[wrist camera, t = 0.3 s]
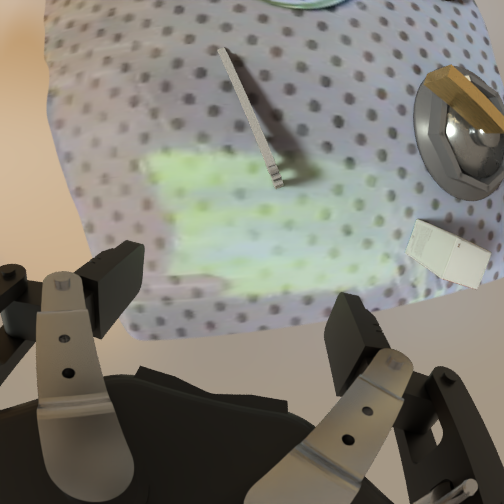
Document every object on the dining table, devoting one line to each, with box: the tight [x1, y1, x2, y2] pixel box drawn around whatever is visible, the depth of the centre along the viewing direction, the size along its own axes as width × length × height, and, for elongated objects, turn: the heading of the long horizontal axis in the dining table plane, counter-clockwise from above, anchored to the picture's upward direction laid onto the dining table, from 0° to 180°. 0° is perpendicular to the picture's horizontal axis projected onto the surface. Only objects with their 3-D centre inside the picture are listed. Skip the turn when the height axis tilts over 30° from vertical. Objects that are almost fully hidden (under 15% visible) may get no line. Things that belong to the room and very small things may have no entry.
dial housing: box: [413, 66, 504, 201], centre depth 32 cm, size 22×22×4 cm
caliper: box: [217, 47, 283, 189], centre depth 32 cm, size 20×1×6 cm, turn 21°
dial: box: [423, 65, 504, 178], centre depth 28 cm, size 20×14×9 cm
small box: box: [405, 219, 491, 290], centre depth 35 cm, size 8×6×10 cm
